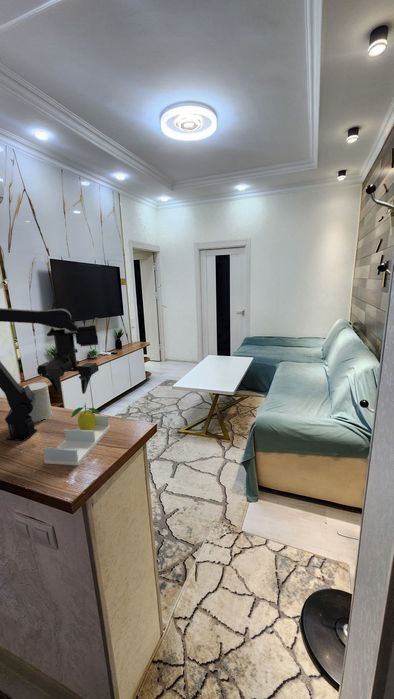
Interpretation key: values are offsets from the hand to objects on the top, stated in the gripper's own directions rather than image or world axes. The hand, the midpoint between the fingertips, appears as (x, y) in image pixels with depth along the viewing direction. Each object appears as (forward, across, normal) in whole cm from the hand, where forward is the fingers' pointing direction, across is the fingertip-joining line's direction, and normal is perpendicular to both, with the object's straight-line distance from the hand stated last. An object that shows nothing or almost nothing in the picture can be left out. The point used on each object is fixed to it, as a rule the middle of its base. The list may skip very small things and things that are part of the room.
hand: (71, 393), depth 98 cm
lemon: (+11, +8, -6) cm, 15 cm away
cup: (+12, -17, +5) cm, 22 cm away
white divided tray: (+12, +8, -11) cm, 18 cm away
